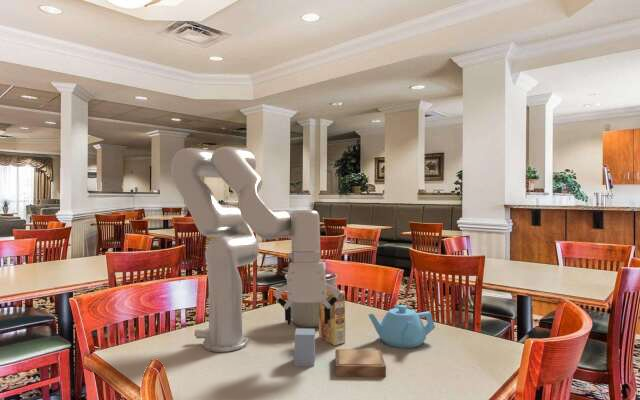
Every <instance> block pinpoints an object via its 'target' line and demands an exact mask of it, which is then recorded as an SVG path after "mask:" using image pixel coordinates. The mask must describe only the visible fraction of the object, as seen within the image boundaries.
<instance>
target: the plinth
mask: <svg viewBox="0 0 640 400" xmlns="http://www.w3.org/2000/svg"><path fill="white" fill-rule="evenodd" d="M334 355H335V376H336V377H361V378H362V377H369V378H371V377H372V378H373V377H375V378H381V377H382V378H386V377H387V365H386V363H385V360H384V356H383V354H382V350H381V349H342V348H340V349H339V348H338V349H335V354H334Z"/></svg>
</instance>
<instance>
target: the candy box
mask: <svg viewBox="0 0 640 400" xmlns="http://www.w3.org/2000/svg"><path fill="white" fill-rule="evenodd" d="M333 295H334V293H333V292H331V291H329V290H327V296H326V298H327V299H328V300H330V299H331V298H332V297H333ZM318 337H319V338H320V339H322V340H324V341H326V342H328V343H330V344H332V345H333V346H337V345H341V344H345V343H346V292H345V291H344V290H340V294H339V296H338V298H337V301H336V302H335V303H334V304H333V305H332V306H331V308H330V320H328V324H325V305H324V304H323V303H322V302H319V327H318Z"/></svg>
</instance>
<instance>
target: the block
mask: <svg viewBox="0 0 640 400" xmlns="http://www.w3.org/2000/svg"><path fill="white" fill-rule="evenodd" d="M315 361H316V329H315V328H296V329H295V333H294V366H295V367H298V366H299V367H315Z"/></svg>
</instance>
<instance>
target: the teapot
mask: <svg viewBox="0 0 640 400" xmlns="http://www.w3.org/2000/svg"><path fill="white" fill-rule="evenodd" d="M393 306H394V307H393V308H391V309H390V308H389V310H387V312H386V314H385V315H384V316H383V318H382V320H381V322H379V321H378V319H377V318H376V316H375V314H374V313H368V314H367V315H368V317H369V319H370V320H371V321H370V322H371V323H372V325H373V327H374V329H375V332H376V333H377V334H378V336H379V338H380V339H381V340H382V341H381V342H383V343H384V344H385V345H387V346H390V347H393V348H399V349H401V348H402V349H411V348H417V347H419V346H421V345H422V344H423V343H424V342H425V341H426V338H427V336H428V335H429V334H430V333H431V332H432V331H433V330H435V328H436V326H435V323H434V319H433V317H432V314H431V311H429V310H428V311H423V312H416V311H415V310H413V309H410V308H408V306H407V305H404V304H394V305H393ZM423 318H425V319H426V323H427V324H426V325H424V323H423V321H422V319H423Z"/></svg>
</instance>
